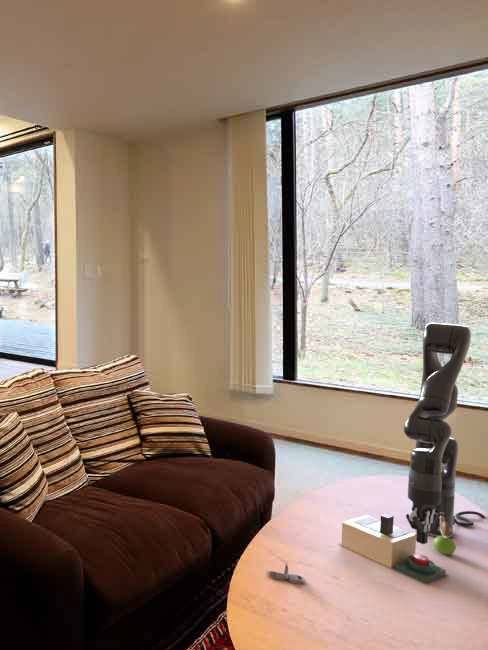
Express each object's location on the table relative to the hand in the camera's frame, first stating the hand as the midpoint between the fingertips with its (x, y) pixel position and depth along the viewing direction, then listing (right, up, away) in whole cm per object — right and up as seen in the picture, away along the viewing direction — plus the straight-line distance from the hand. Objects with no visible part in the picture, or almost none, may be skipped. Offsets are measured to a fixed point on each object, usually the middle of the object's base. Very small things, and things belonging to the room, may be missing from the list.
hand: (421, 542), depth 158 cm
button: (0, -6, +1) cm, 6 cm away
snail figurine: (+16, -8, +12) cm, 22 cm away
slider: (-4, -1, +8) cm, 9 cm away
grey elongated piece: (-40, -10, -1) cm, 42 cm away
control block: (0, -9, +1) cm, 9 cm away
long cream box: (-4, -8, +13) cm, 16 cm away
